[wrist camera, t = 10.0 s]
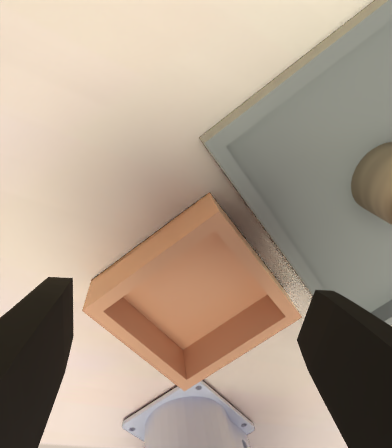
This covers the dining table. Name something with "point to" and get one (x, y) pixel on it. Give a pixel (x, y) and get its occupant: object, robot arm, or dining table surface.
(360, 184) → the birch peg
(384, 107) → the slate tray
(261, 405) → the dining table surface
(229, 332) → the square terracotta tray
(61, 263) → the dining table surface
